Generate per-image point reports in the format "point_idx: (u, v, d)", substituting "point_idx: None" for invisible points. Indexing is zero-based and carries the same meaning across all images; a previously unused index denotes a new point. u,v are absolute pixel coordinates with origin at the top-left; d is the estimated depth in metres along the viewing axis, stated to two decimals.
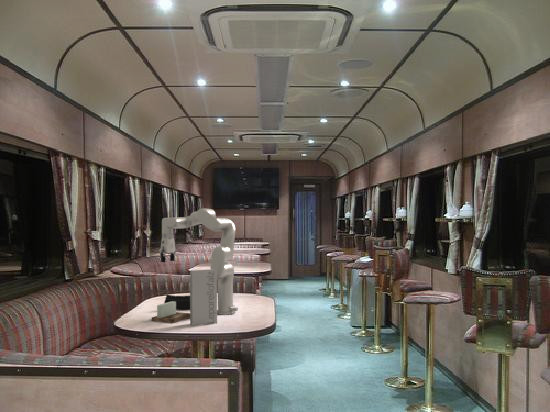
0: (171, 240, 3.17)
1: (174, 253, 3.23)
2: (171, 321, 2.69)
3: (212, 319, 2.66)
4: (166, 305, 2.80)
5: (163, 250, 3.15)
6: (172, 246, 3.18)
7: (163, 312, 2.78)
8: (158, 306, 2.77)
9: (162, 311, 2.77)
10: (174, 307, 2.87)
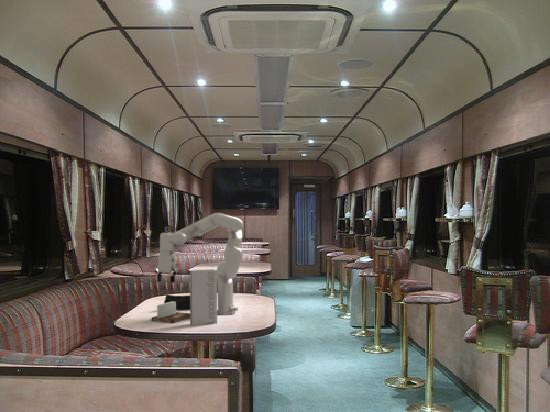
0: None
1: None
2: (171, 321, 2.69)
3: (212, 319, 2.66)
4: (166, 305, 2.80)
5: None
6: None
7: (163, 312, 2.78)
8: (158, 306, 2.77)
9: (162, 311, 2.77)
10: (174, 307, 2.87)
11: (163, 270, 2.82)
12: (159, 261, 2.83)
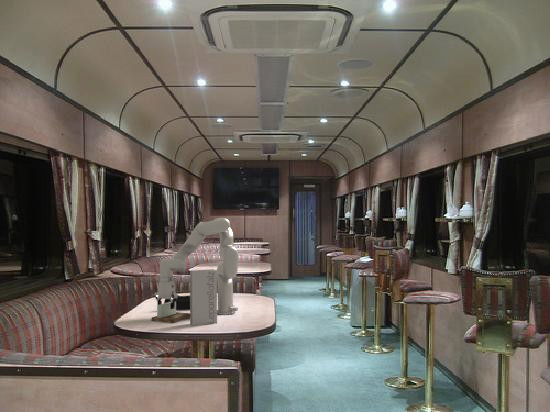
0: None
1: None
2: (171, 321, 2.69)
3: (212, 319, 2.66)
4: (166, 305, 2.80)
5: None
6: None
7: (163, 312, 2.78)
8: (158, 306, 2.77)
9: (162, 311, 2.77)
10: None
11: (163, 296, 2.81)
12: (159, 287, 2.83)
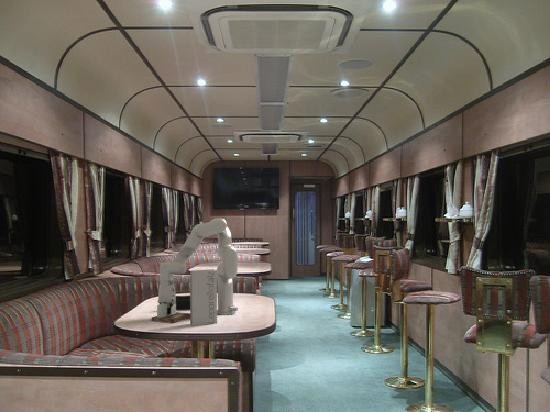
0: None
1: None
2: (171, 321, 2.69)
3: (212, 319, 2.66)
4: (166, 305, 2.80)
5: None
6: None
7: (163, 312, 2.78)
8: (158, 306, 2.77)
9: (162, 311, 2.77)
10: (174, 307, 2.87)
11: (164, 300, 2.81)
12: (159, 291, 2.83)
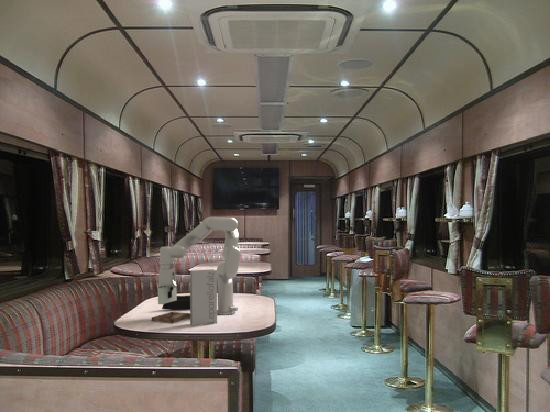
0: None
1: None
2: (171, 321, 2.69)
3: (212, 319, 2.66)
4: (167, 288, 2.81)
5: None
6: None
7: (164, 295, 2.78)
8: (159, 289, 2.77)
9: (163, 294, 2.77)
10: (175, 291, 2.88)
11: (164, 284, 2.82)
12: (160, 275, 2.83)
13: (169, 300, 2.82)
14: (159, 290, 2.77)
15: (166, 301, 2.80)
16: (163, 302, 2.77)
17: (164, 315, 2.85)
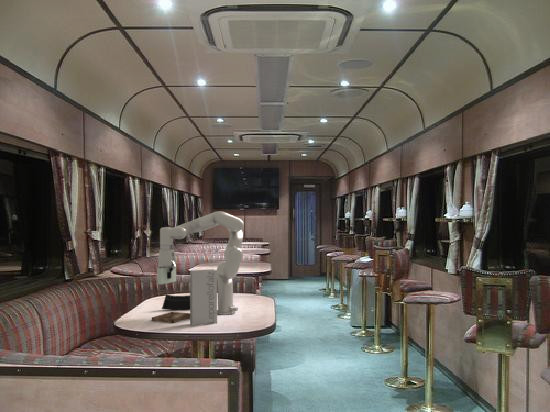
0: None
1: None
2: (171, 321, 2.69)
3: (212, 319, 2.66)
4: (166, 269, 2.81)
5: None
6: None
7: (163, 276, 2.78)
8: (158, 270, 2.77)
9: (162, 275, 2.78)
10: (174, 272, 2.88)
11: (164, 265, 2.82)
12: (159, 256, 2.83)
13: (168, 281, 2.83)
14: (158, 270, 2.77)
15: (165, 281, 2.80)
16: (162, 282, 2.78)
17: (164, 315, 2.85)
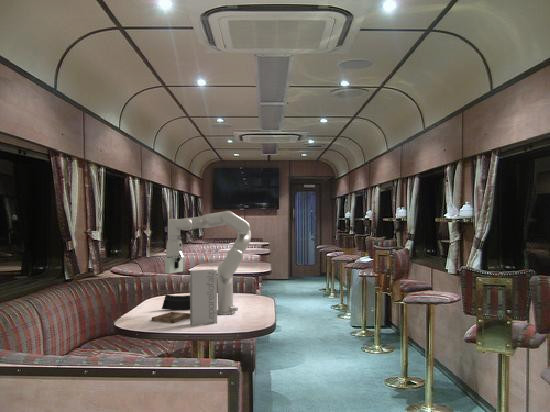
0: None
1: None
2: (171, 321, 2.69)
3: (212, 319, 2.66)
4: (174, 259, 2.91)
5: None
6: None
7: (171, 265, 2.88)
8: (166, 259, 2.88)
9: (170, 264, 2.88)
10: (181, 262, 2.98)
11: (171, 255, 2.92)
12: (167, 246, 2.93)
13: (176, 270, 2.93)
14: (166, 260, 2.87)
15: (173, 271, 2.90)
16: (170, 272, 2.88)
17: (164, 315, 2.85)
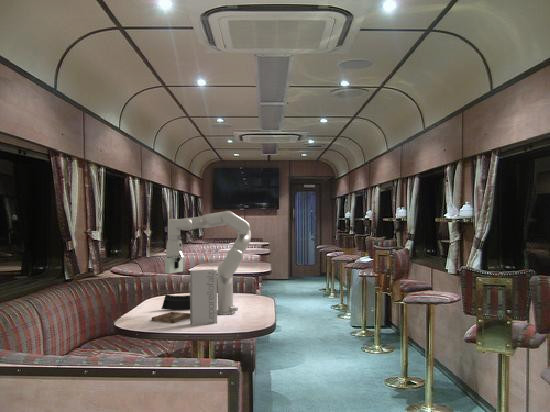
0: None
1: None
2: (171, 321, 2.69)
3: (212, 319, 2.66)
4: (174, 259, 2.91)
5: None
6: None
7: (171, 265, 2.88)
8: (166, 259, 2.88)
9: (170, 264, 2.88)
10: (181, 262, 2.98)
11: (171, 255, 2.92)
12: (167, 246, 2.93)
13: (176, 270, 2.93)
14: (166, 260, 2.87)
15: (173, 271, 2.90)
16: (170, 272, 2.88)
17: (164, 315, 2.85)
